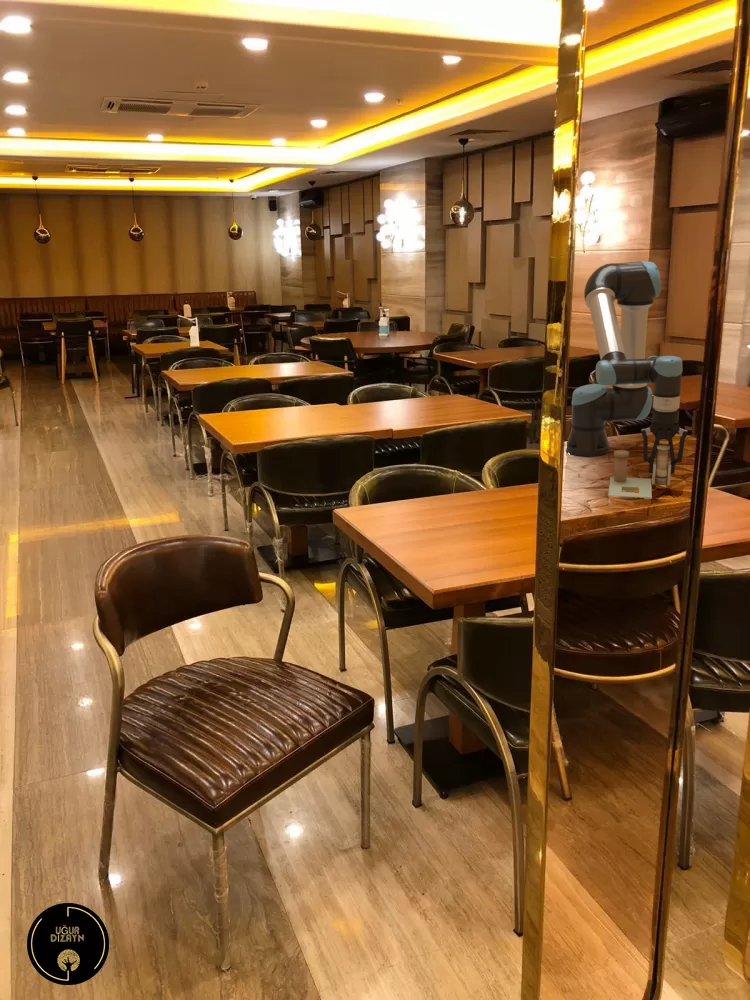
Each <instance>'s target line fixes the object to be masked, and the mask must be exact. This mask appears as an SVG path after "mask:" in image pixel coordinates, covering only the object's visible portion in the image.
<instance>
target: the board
mask: <svg viewBox="0 0 750 1000" xmlns="http://www.w3.org/2000/svg"><path fill="white" fill-rule="evenodd" d="M613 456H614V470H613V471H614V472H613V476H610V477H609V484H608V485H609V486H608V495H607V497H609V496H620V497H635V498H637V497H640V498H644V499H652V500H653V496H652V495H653V494H652V491H653V490H652V478H646V477H645V478H642V477H641V478H640V477H627V475H628V471H627V470H628V457H629V456H630V451H629V450H625V449H617V450H613ZM622 490H639V493H635V492H622Z"/></svg>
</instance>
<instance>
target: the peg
mask: <svg viewBox="0 0 750 1000" xmlns="http://www.w3.org/2000/svg"><path fill="white" fill-rule="evenodd" d="M669 449H670V446H669V443H668V442H664V441H663V442H662V441H661V442H659V444H658V445H657V452H656V456H655V462H656V472H655V484H654V485H655V486H660V485H667V477H668V462H670V461H669V458H670V451H669ZM667 486H668V485H667Z"/></svg>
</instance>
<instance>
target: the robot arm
mask: <svg viewBox="0 0 750 1000" xmlns="http://www.w3.org/2000/svg"><path fill="white" fill-rule="evenodd" d="M661 283H662V282H661V273H660V270H659V268H658V266H657V265H656V264H655V262H654V261H653V262H652V261H630V262H629V261H628V262H627V261H626V262H617V263H616V262H612V263H611V262H610V263H605V264H604V265H603V264H602V265H601V266H600V267H598V268H597V269H595V270H594V271H593V272H592V273H591V275H590V276H589V277H588V279H587V282H586V283H585V287H584V291H583V292H584V293H583V294H584V295H583V296H584V302H585V303H584V304H585V305H586V307H587V308H588V309H589V311H590V316H591V321H592V325H593V330H594V335H595V341H596V344H597V349H598V354H599V358H600V360H599V361H598V362H597V363H596V365H595V379H596V383H591V384H585V385H582V386H579V387H577V388H575V389H573V392H572V399H571V427H570V428H571V430H570V433H569V434H568V435H569V436H568V437H567V440H568V442H567V441H566V443H567V450H566V449H565V451H566V453H568V454H571V455H573V456H579V457H598V456H603V455H606V454H608V453H609V452H610V443H609V439H608V436H607V432H606V424H607V422H609V423H610V422H612V423H613V422H629V421H630V422H635V421H641V420H645V419H646V418H647V417H648V416H649V414H650V412H651V409H652V408H653V409H652V412H651V413H652V415H651V424H650V425H649V427H647V428H644V427H643V428H641V435H642V439H643V440H642V441H643V442H642V443H643V454H642V455H643V462H647V463H648V472H649V473H648V474H652V475H651V476H652V477H651V485H655V472H656V461H655V460H656V455H657V445H658V444H659V443H660V441H662V440H666V441H667V443H669V446H670V449H669V458H670V461H669V462H668V477H667V486H670V485H671V475H674V474H675V471H676V464H678V463H682V462H683V457H684V456H683V455H684V448H685V441H686V437H688V430H687V429H683V428H681V427H680V425H679V418H680V417H679V415H680V410H679V409H680V403H681V402H680V400H681V389H682V377H683V369H684V368H683V359H682V358H681V357H679V356H675V355H663V356H662V355H661V356H660V355H659V356H658V355H650V356H649V357H647V358H646V357H645V356H646V346H647V345H646V343H647V329H648V318H649V316H648V314H649V309H650V308H651V307H652V306H653V305H654V300H655V298H658V297H659V296H660V294H661V291H662V284H661ZM615 301H616V305H617V306H618V307H619V308H620V309H621V313H620V325H619V321H618V316H617V312H616V307H615V304H614V302H615ZM648 384H653V390H652V388H651V387H650V386H648ZM608 386H612V387H611V388H608ZM650 433H651V434H652V435H653V436H654V441H653V445H652V449H651V452H650V456H648V453H649V452H648V451H649V449H648V448H649V447H648V444H649V442H648V440H649V439H648V438H649V437H648V436H649V435H650ZM676 434H678V435H679V436H680V437H679V442H678V451H677V456H676V457H675V451H674V442H673V438H674V437H675V436H676Z"/></svg>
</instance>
